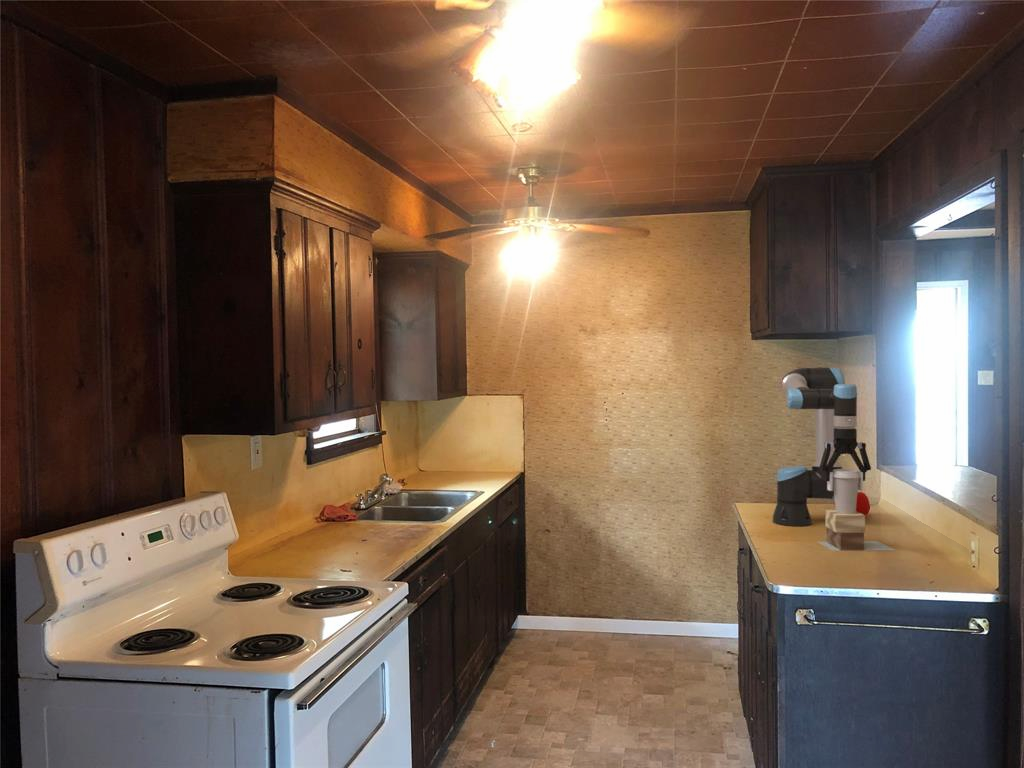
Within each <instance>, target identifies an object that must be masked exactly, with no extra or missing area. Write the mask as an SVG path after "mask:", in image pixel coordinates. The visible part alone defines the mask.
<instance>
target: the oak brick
mask: <svg viewBox="0 0 1024 768" xmlns="http://www.w3.org/2000/svg"><path fill="white" fill-rule="evenodd" d="M825 527H826V528H827V527H828V528H829V529H831V530H832V531H834V532H859V533H864V534H865V533H866V516H865V515H863V514H861V513H859V512H857V511H856V513H855V514H840V513H836V510H835V509H825Z"/></svg>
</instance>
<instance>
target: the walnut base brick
mask: <svg viewBox="0 0 1024 768" xmlns="http://www.w3.org/2000/svg"><path fill="white" fill-rule="evenodd" d="M864 541H865V533H859V532H834V531H832V530H831V529H829V528H828V527H826V542H827V543H829V544H831V545H832V546H834V547H836V548H838V549H839V551H865V550H864Z"/></svg>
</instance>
